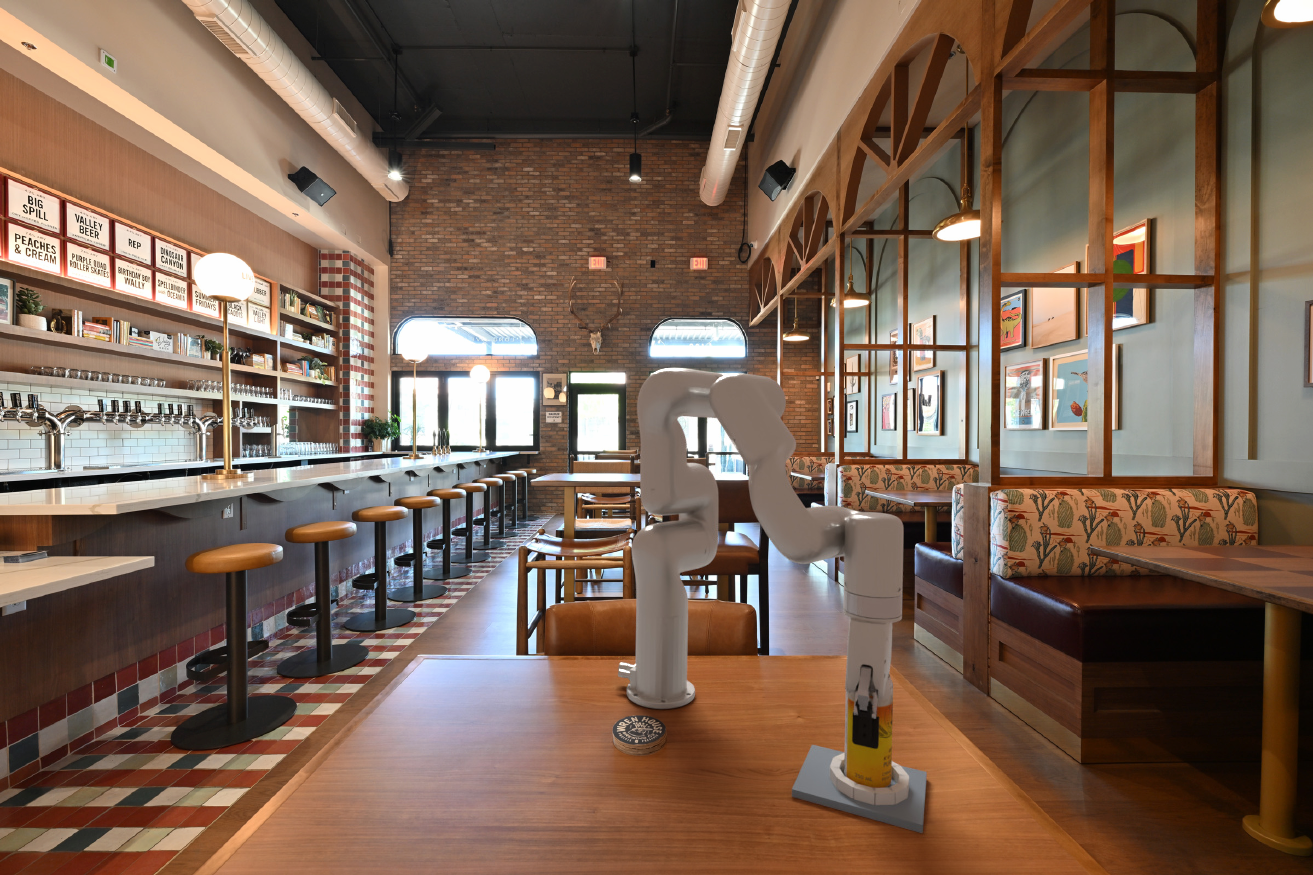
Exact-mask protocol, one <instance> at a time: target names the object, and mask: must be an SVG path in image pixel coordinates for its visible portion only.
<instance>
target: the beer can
mask: <svg viewBox="0 0 1313 875" xmlns="http://www.w3.org/2000/svg"><path fill="white" fill-rule="evenodd" d="M872 677H873V671H872ZM870 691H872V692H875V690H874V689H870ZM855 693H856V688H855V690H854V692H850V693H848V692H847V691H846V690H845V709H844V710H845V714H844V715H845V716H844V718H845V720H844V721H845V722H844V723H845V724H844V752H845V759H844V773H845V776H846V777H847V778H849V779H850V780H852V781H854V782H855V783H857V784H860V785H864V786H868V787H872V788H887V786H889V785H890V783H891V771H892V761H893V760H892V759H893V758H892V755H893V720H894V719H893V715H894V714H893V711H894V709H893V708H894V707H893V706H894V705H893V704H894V683H893V681H892V678H891V673H889V677H888V681H887V685H886V689H885V694H884V696H883V697H882V698H880V699H878V708H877V716H878V717H879V746H878V748H877V749H873V748H869V747H865V746H860V745H856V744H854V743H853V742H852V723H853V711H854V703H855ZM869 701H871V703H872V704H873V699H870V698H869Z"/></svg>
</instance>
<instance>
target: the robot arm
mask: <svg viewBox="0 0 1313 875" xmlns="http://www.w3.org/2000/svg"><path fill="white" fill-rule="evenodd" d="M786 401H787V400H786V394H785V392H784V390H783V388H782V386H781V385H780V384H779V383H778V382H777V381H776V380H774V379H772V378H770V377H768V376H764V375H757V374H750V373H742V372H736V373H735V372H732V373H723V372H722V373H720V372H714V371H707V370H705V371H704V370H698V369H694V368H693V369H692V368H685V367H668V368H667V367H666V368H662V369H659V370H656V371H655V372H653V373H651V374H650V375H649V376H648V377H647V378H646V380H644V382H643V384H642V385H641V387H640V389H639V392H638V396H637V401H636V402H637V403H636V412H637V414H636V415H637V421H638V427H639V434H640V436H639V437H640V460H639V461H640V465H639V466H640V476H639V477H640V478H639V479H640V480H639V481H640V482H639V484H640V485H639V486H640V488H639V489H640V490H639V492H640V499H641V500H640V501H641V504H642V507H643V508H644V510H645V511H646V512H647V513H648V514H650V515H654V516H672V515H678V520H671V521H663V522H656V523H651V524H649V525H647V526H644V527H643V528H641V529H640V530H639V531H638V532H637V533H636V535H635V536H634V538H633V540H632V543H631V557H632V558H631V559H632V563H633V568H634V575H635V589H636V590H635V594H636V595H635V597H636V598H635V599H636V602H635V603H636V605H635V606H636V607H635V608H636V609H635V610H636V616H635V617H636V619H635V620H636V621H635V624H636V625H635V627H636V628H635V663H634V664H631V663H629V662H625V661H621V662H620V663H618V668H617V669H618V671H617V676H618V677H619V678H622V679H628V681H629V683H628V685H627V687H626V696H627V698H628V699H629V700H630V701H631V702H633V703H634V704H636V705H638V706H641V707H643V708H648V709H649V708H650V709H655V710H656V709H657V710H664V709H665V710H666V709H667V710H668V709H676V708H680V707H683V706H685V705H688V704H689V703H690V702H692V701H693V700H695V696H696V688H695V685H694V684H693V683H691V682H690V681H689V680H688V640H689V639H688V638H689V637H688V636H689V635H688V633H689V632H688V628H689V626H688V625H689V598H688V593H687V589H686V587H685V584H684V583H683V580H682V578H681V576H680V575H681V573H683V572H688V571H692V570H696V569H700V568H703V567H706V566H707V565H709V564H711V562H712V561H713V560H714V559H715V557H716V554H717V553H718V552H717V551H718V547H719V545H718V544H719V487H718V483H717V480H716V477H715V476H714V474H713V473H712V471H711V470H710V469H709V468H708V467H706V466H705V465H703V464H701V463H698V462H697V463H696V462H688V460H687V459H688V458H687V448H688V444H687V437H686V434H685V430H684V429H683V427H682V425H681V423H680V421H679V420H678V419H679V418H681V417H691V418H708V419H709V418H710V419H711V418H712V419H717V421H718V422H719V424H720V425H721V428H723V430H724V431H725V434H726V435H727V437H728V439H729V440H730V441H731V443H732V444H733V446H734V447H735V449H736V451H737V452H738V454H739V456H740V457H741V459H742V460H743V462H744V463H745V465H746V466H747V469H748V490H749V498H750V502H751V507H752V510H753V513H754V515H755V517H756V519H757V521H758V522H759V524H760V526H761V528H762V529H763V530H764V532H765V534H766V536H767V537H768V538H769V540H770V541H771V544H772V545H773V546H774V548H776V550H777V551H778V553H780V554H781V555H782V556H783V557H785V558H786V559H787V560H788V561H791V562H793V563H795V564H799V565H800V564H801V565H805V564H806V565H807V564H813V563H815V562H816V563H817V562H819V561H824V560H829V559H833V558H834V559H835V558H839V557H843V558H844V559H843V561H844V562H843V565H844V566H843V567H844V568H843V570H844V571H843V604H842V605H843V607H842V608H843V611H842V612H843V614H844V615H845V616H846V617H849V624H848V632H847V648H846V649H847V650H846V664H845V665H846V667H845V669H846V670H845V685H844V686H845V687H844V689H845V692H846V691H847V692H848V693H850V692H854V690H855V688H856V693H855V703H854V711H853V723H852V742H853V743H854V744H856V745H860V746H865V747H869V748H873V749H877V748H878V746H879V717H878V716H877V708H878V699H880V698H882V697H883V696H884V694H885V689H886V685H887V681H888V677H889V674H890V670H891V663H892V649H893V648H892V647H893V624H894V623H897V622H900V621H901V620H902V619H903V581H904V580H903V578H904V575H903V572H904V524H903V522H902V520H901V519H900V517H898V516H895V515H893V514H890V513H883V512H874V511H873V512H872V511H870V512H869V511H858V510H854V509H851V508H848V507H844V506H839V505H824V506H823V505H822V506H813V507H812V506H811V507H805V505H804V504H803V502H802V501H801V499H800V498H799V496H798V494H797V493H796V492H795V490H794V488H793V487H792V485H791V482H790V480H789V478H788V476H787V469H786V466H787V461H788V460H789V459H790V458H791V456H793V455H794V453H795V450H796V448H797V441H796V439H795V437H794V435H793V434H792V433H791V431H790V429H788V426H786V424H785V423H784V421H783V420H782V418H781V417H783V414H784V413H785V411H786V406H787V405H786V404H787V402H786ZM872 671H873V677H872ZM870 689H874V690H875V692H872V691H870ZM869 698H870V699H873V704H872V703H871V701H869Z"/></svg>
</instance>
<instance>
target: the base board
mask: <svg viewBox="0 0 1313 875" xmlns="http://www.w3.org/2000/svg"><path fill="white" fill-rule="evenodd" d="M844 759H845V751H841V750H836V749H832V748H828V747H824V746H823V747H822V746H820V745H816V744H811V745H810V749H809V750H808V752H807V754H806V757H805V759H804V762H803V763H802V766H801V767H800V770H799V773H798V775H797V777H796V779H795V781H794V784H793V785H792V788H791V797H792V798H795V799H799V800H802V801H807V802H810V803H813V804H817V805H820V806H824V807H827V808H832V809H835V810H839V811H842V812H846V813H849V814H853V815H856V816H859V817H863V818H867V819H871V820H873V821H877V822H881V823H884V824H888V825H892V826H895V827H899V828H903V829H907V830H910V831H914V832H917V833H920V834H923V831H924V818H925V816H924V815H925V806H926V805H925V804H926V803H925V802H926V791H927V777H928V776H927V775H928V774H927V772H928V771H924V770H919V769H917V768H911V767H907V766H903V765H900V764H899V763H896V762H895V761H893V760H892V771H891V783H890V785H889V786H887V788H872V787H868V786H864V785H860V784H857V783H855V782H854V781H852V780H850V779H849V778H847V777H846V776H845V773H844Z"/></svg>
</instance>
